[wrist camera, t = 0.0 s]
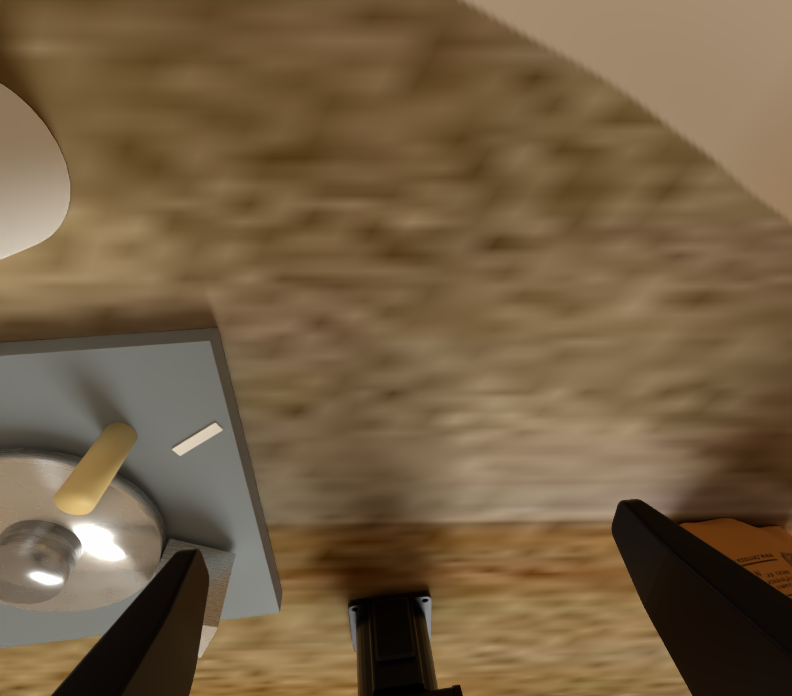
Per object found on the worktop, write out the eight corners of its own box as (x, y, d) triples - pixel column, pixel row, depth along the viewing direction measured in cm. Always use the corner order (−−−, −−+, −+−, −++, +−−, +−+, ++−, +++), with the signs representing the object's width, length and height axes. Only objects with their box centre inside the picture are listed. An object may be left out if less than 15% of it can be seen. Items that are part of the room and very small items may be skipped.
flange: (243, 579, 28) (228, 654, 24) (-9, 609, 27) (-69, 693, 23) (198, 431, 23) (168, 498, 19) (-126, 460, 21) (-232, 539, 17)
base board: (282, 592, 32) (271, 684, 27) (-35, 631, 31) (-113, 738, 25) (217, 327, 22) (179, 393, 17) (-270, 361, 20) (-485, 447, 15)
